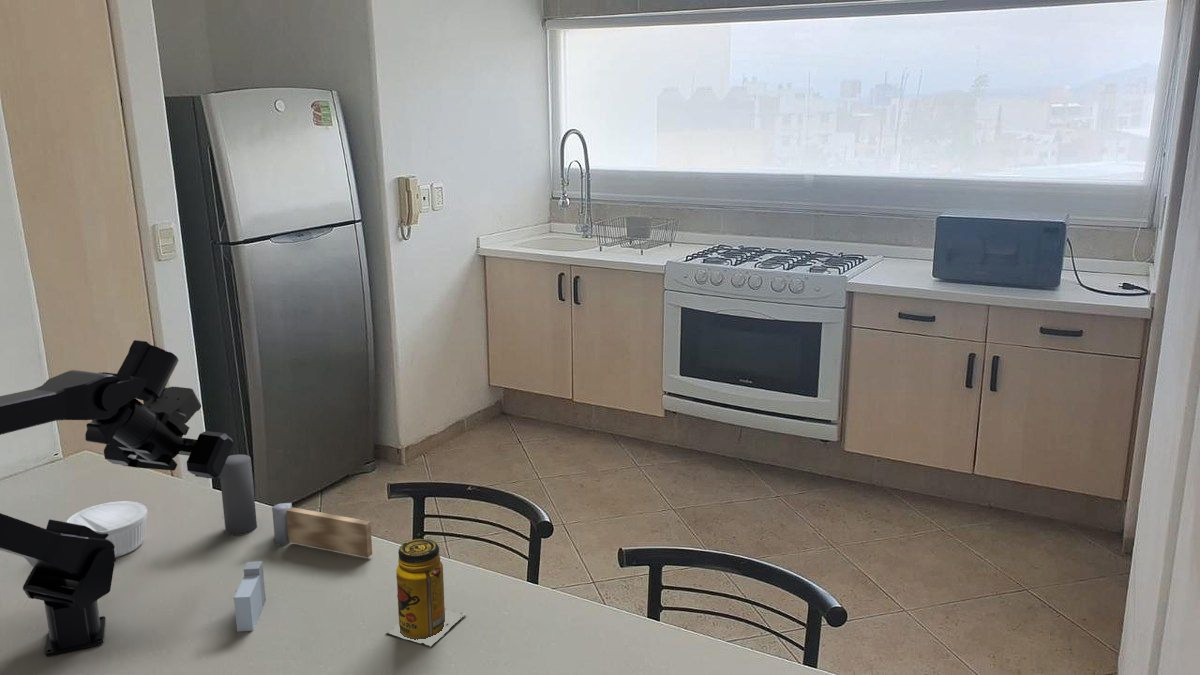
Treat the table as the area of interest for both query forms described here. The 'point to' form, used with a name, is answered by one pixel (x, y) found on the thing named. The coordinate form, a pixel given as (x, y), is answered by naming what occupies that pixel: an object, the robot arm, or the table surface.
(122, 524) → the ramekin
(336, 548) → the door
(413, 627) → the condiment
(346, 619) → the table surface
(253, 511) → the gray cylinder
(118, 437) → the robot arm
